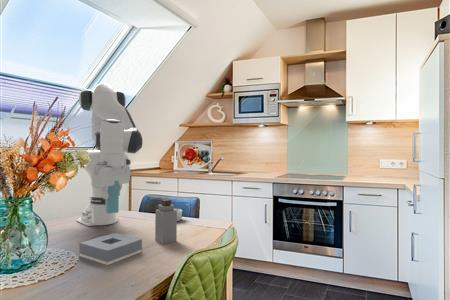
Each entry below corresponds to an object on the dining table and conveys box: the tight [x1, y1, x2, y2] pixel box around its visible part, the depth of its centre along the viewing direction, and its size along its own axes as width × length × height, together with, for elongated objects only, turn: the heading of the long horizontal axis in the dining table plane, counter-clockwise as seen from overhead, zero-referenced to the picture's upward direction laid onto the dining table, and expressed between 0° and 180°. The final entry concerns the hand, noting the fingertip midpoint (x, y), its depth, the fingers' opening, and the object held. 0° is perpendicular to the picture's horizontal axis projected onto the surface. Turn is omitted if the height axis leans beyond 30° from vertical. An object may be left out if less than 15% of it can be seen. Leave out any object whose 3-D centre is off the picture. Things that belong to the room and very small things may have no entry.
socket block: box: [79, 232, 143, 266], centre depth 118 cm, size 16×16×5 cm
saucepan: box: [174, 208, 183, 222], centre depth 177 cm, size 12×20×6 cm, turn 7°
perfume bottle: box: [154, 198, 178, 245], centre depth 135 cm, size 7×7×18 cm
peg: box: [105, 181, 120, 214], centre depth 117 cm, size 4×4×12 cm
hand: (111, 197), depth 117 cm, fingers closed on peg, 6 cm apart
